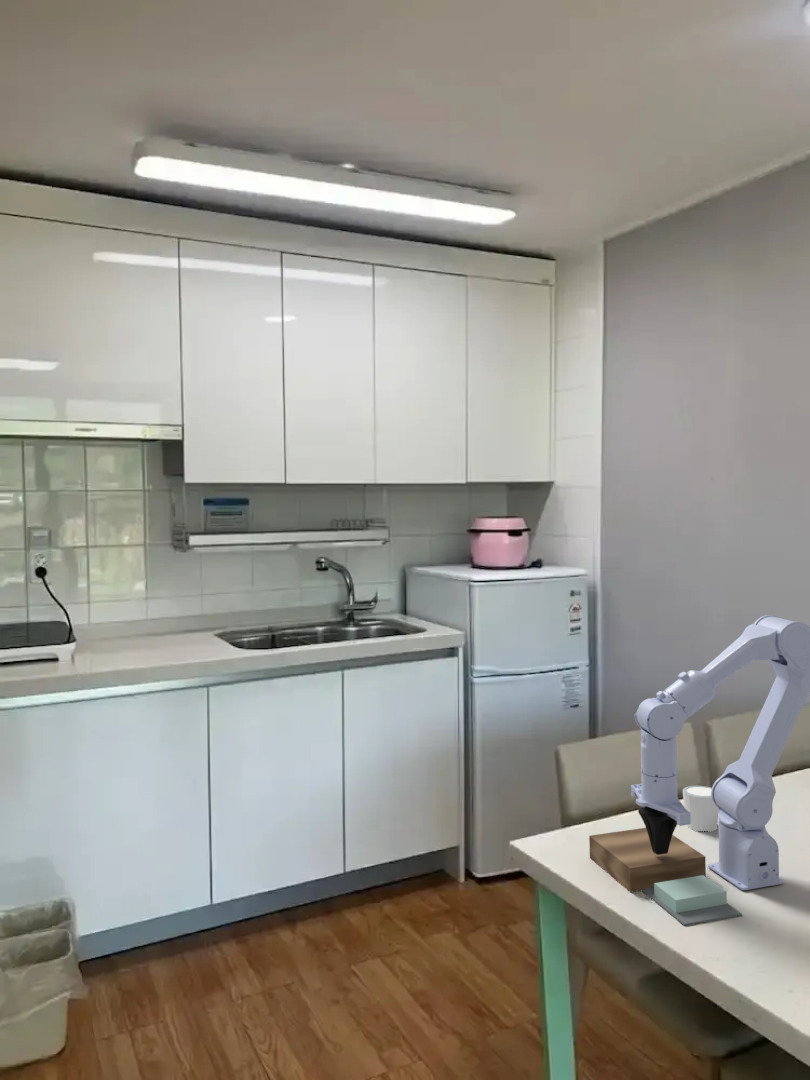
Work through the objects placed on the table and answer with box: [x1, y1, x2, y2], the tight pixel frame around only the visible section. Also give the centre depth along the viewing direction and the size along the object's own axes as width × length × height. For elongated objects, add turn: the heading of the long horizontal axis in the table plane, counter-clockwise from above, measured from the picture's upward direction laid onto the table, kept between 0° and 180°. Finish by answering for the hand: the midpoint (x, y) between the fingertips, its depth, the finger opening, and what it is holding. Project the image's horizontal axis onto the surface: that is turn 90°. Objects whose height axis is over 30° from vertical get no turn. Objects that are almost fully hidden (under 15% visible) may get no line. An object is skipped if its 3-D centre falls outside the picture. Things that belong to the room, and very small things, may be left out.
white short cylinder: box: [682, 785, 719, 833], centre depth 161 cm, size 7×7×7 cm
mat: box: [641, 887, 743, 927], centre depth 131 cm, size 12×10×1 cm
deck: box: [588, 827, 707, 893], centre depth 143 cm, size 14×14×4 cm
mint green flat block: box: [654, 875, 728, 913], centre depth 131 cm, size 6×9×2 cm, turn 105°
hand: (660, 852), depth 138 cm, fingers closed
